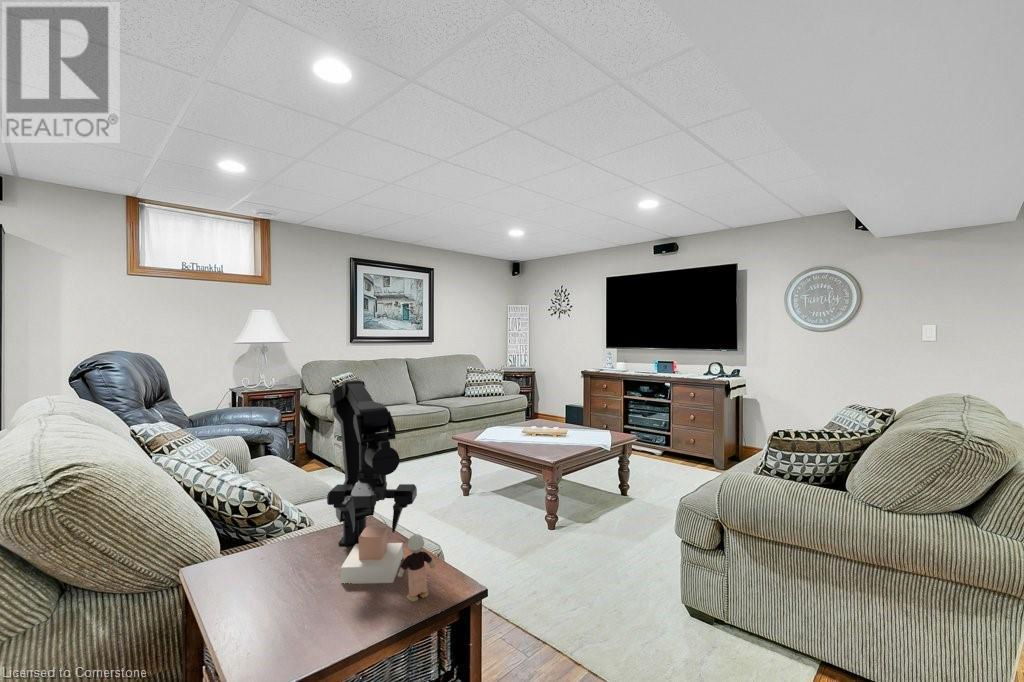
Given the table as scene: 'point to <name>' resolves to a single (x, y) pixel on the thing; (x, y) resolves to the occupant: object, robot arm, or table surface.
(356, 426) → the robot arm
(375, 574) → the cream box
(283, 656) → the table surface
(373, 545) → the terracotta block
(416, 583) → the grandmother figurine
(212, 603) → the table surface
